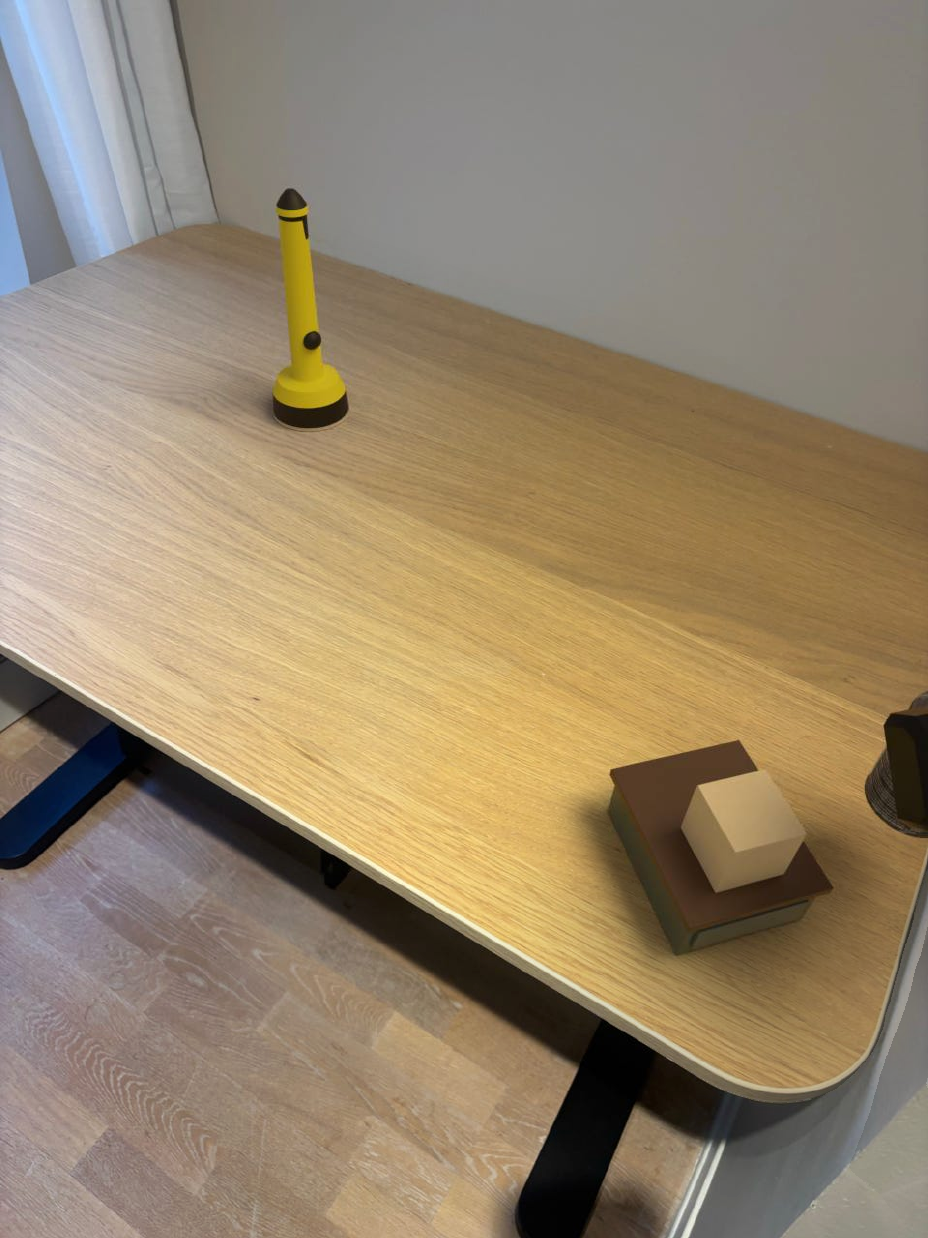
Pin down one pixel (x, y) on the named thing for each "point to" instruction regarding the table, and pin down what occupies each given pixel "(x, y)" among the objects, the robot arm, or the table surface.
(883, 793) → the pill bottle
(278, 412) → the flashlight
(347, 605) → the table surface
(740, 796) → the beige cube
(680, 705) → the table surface
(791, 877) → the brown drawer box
